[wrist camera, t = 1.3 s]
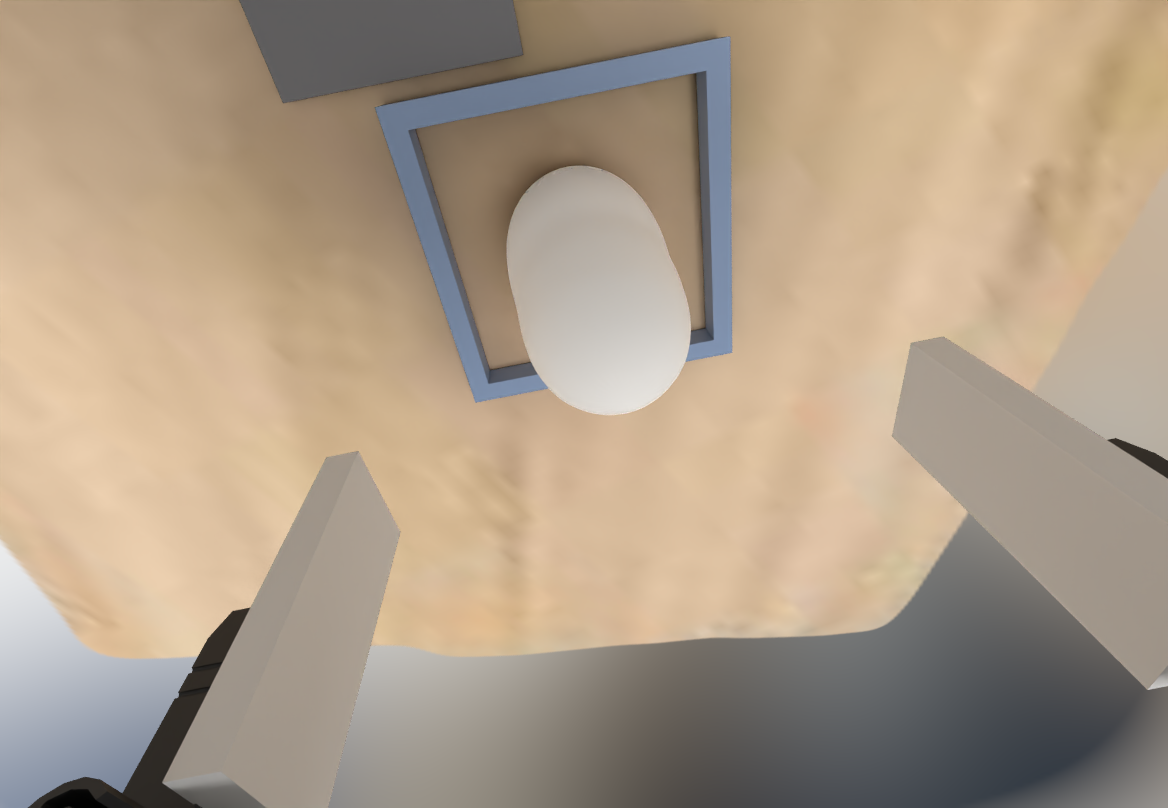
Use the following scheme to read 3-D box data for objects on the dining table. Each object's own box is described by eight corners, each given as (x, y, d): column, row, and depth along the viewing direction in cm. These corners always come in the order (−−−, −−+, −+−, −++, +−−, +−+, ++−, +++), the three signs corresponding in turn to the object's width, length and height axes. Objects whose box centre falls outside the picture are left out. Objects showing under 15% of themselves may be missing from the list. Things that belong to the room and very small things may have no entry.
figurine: (536, 327, 28) (544, 470, 18) (483, 186, 24) (456, 272, 14) (662, 287, 28) (740, 413, 18) (629, 136, 24) (707, 190, 14)
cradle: (383, 104, 22) (374, 107, 21) (718, 37, 22) (730, 36, 21) (477, 388, 30) (475, 402, 29) (723, 340, 30) (732, 352, 29)
